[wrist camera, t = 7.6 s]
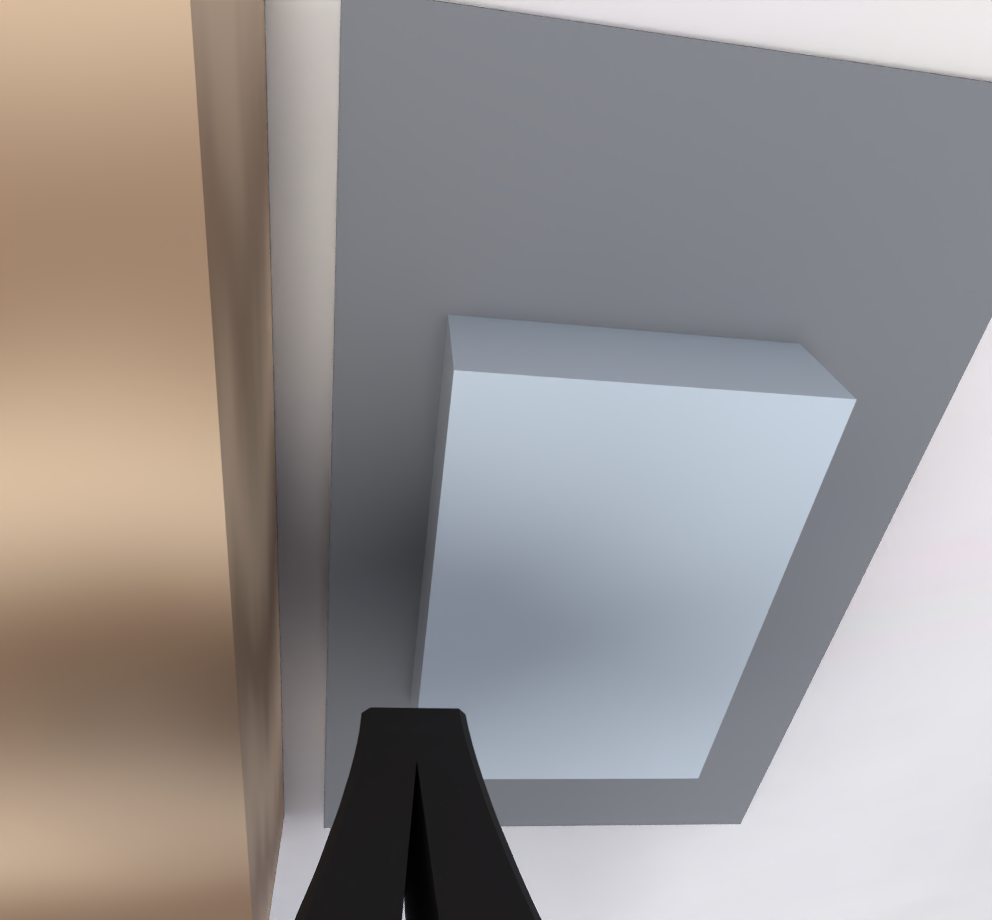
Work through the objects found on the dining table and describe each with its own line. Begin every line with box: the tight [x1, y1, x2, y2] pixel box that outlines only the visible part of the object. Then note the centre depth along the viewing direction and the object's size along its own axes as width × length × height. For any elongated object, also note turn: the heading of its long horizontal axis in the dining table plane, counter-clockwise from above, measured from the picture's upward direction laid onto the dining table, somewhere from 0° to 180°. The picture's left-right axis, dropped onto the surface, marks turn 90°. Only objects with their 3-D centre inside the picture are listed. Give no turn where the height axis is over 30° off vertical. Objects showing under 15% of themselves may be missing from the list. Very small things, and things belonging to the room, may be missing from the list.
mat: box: [324, 0, 992, 828], centre depth 16 cm, size 18×11×1 cm, turn 173°
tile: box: [411, 315, 857, 779], centre depth 14 cm, size 9×6×2 cm, turn 173°
